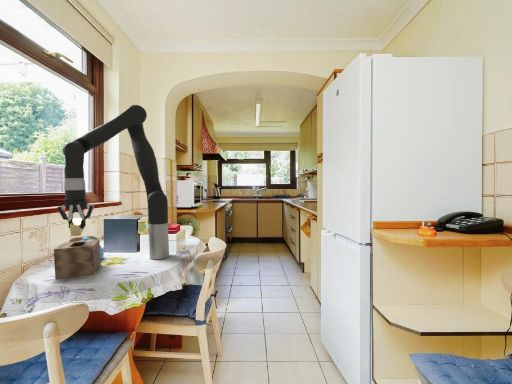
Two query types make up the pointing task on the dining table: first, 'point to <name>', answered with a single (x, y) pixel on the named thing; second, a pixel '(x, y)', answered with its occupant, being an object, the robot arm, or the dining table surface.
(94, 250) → the money box
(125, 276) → the dining table surface
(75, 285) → the dining table surface
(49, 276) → the dining table surface
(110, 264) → the dining table surface
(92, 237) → the tin
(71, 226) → the beige block
